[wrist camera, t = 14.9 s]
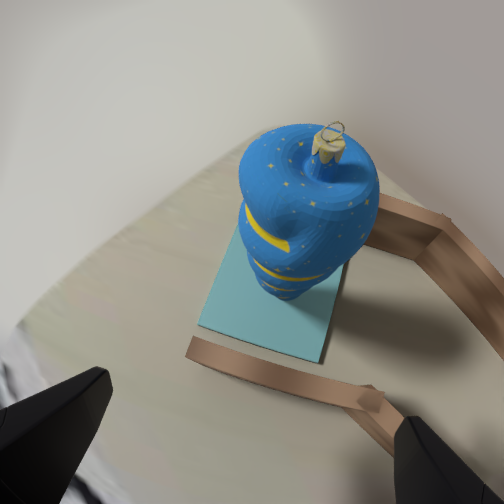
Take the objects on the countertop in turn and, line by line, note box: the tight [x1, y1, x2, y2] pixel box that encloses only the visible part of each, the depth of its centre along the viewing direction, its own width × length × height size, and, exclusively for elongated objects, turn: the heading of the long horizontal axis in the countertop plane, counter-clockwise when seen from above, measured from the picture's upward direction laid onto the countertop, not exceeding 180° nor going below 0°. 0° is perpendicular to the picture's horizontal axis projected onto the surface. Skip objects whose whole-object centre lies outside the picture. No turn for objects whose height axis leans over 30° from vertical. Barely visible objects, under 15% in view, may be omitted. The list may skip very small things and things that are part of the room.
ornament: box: [238, 121, 379, 301], centre depth 14 cm, size 5×5×15 cm
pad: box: [198, 225, 344, 363], centre depth 22 cm, size 8×8×1 cm
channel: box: [185, 193, 504, 458], centre depth 18 cm, size 25×26×5 cm
